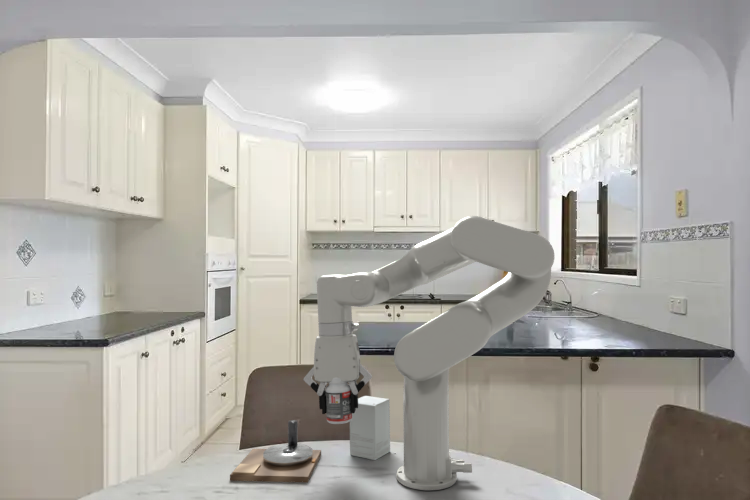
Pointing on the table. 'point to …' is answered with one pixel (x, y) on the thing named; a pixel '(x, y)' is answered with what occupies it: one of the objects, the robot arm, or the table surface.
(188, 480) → the table surface
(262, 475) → the dial board
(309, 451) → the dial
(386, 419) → the supplement box
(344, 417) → the pill bottle
